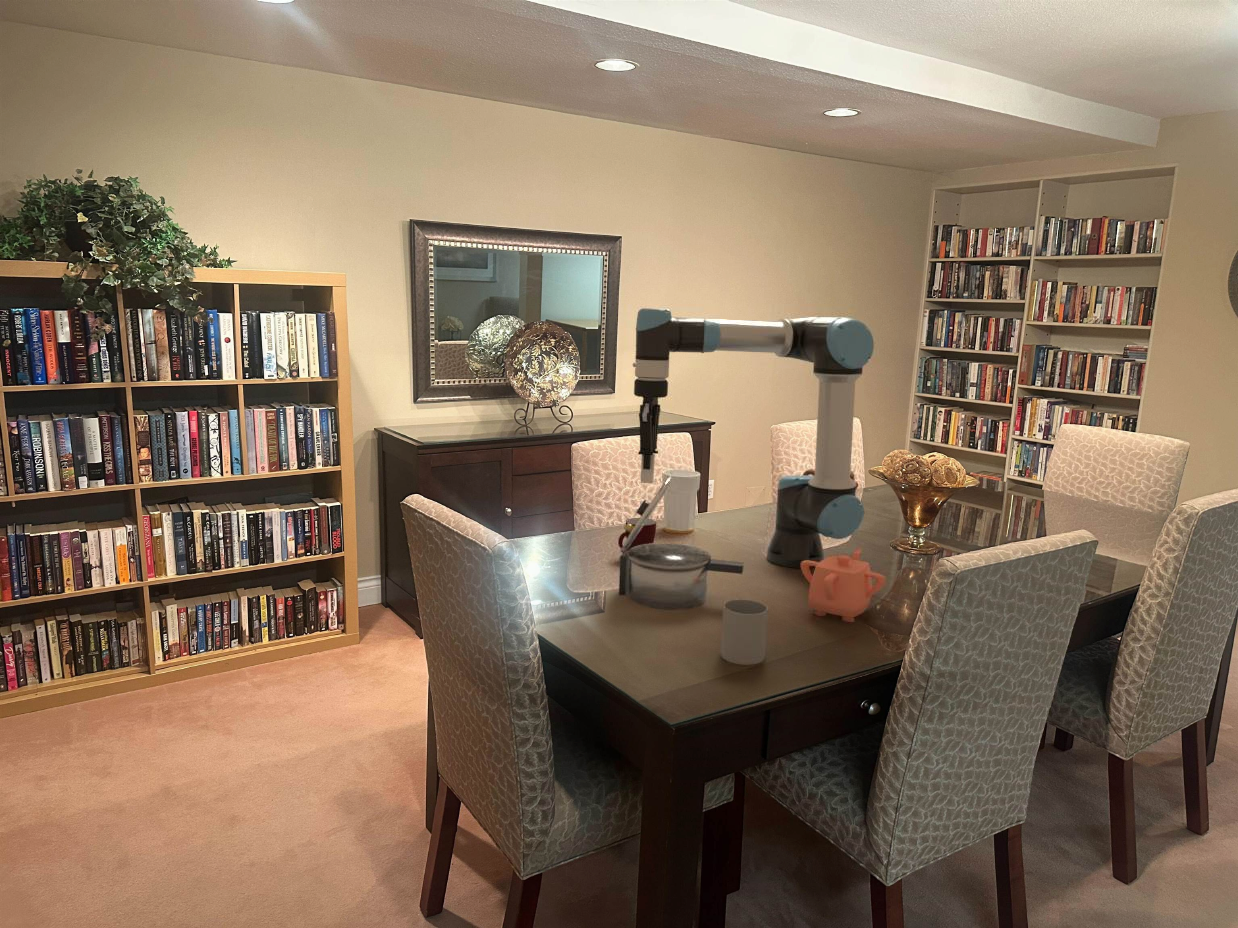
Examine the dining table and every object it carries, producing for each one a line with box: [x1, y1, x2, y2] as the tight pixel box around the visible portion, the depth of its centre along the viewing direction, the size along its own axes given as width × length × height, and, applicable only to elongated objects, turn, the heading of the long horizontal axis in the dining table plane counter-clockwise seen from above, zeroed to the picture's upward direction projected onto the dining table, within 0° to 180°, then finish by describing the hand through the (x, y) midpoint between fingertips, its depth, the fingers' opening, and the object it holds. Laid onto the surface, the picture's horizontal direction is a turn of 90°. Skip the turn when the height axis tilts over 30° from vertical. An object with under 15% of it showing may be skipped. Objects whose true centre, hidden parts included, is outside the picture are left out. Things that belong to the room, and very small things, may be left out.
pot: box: [618, 542, 745, 611], centre depth 201 cm, size 28×19×10 cm
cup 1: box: [661, 468, 701, 534], centre depth 261 cm, size 11×11×17 cm
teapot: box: [800, 548, 887, 623], centre depth 195 cm, size 17×16×13 cm
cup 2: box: [720, 598, 769, 666], centre depth 169 cm, size 8×8×10 cm
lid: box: [620, 476, 674, 554], centre depth 200 cm, size 20×19×3 cm
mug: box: [617, 517, 657, 551], centre depth 230 cm, size 11×8×10 cm
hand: (647, 482), depth 199 cm, fingers closed
